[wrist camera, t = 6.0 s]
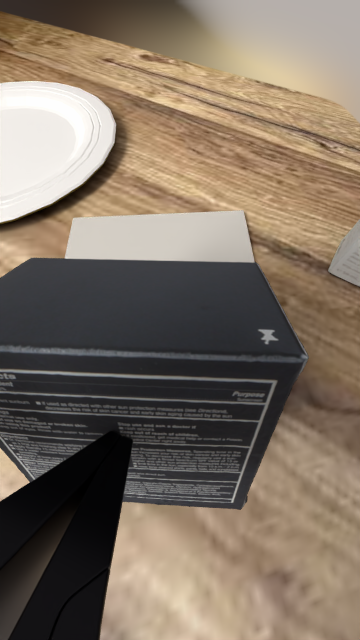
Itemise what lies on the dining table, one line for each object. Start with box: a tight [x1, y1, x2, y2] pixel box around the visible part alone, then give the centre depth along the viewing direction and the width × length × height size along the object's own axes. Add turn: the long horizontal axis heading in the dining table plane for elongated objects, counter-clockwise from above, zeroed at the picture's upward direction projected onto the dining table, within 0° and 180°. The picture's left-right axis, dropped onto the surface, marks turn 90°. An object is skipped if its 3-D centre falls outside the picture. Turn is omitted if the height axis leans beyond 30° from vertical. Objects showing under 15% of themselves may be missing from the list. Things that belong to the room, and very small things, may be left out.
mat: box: [65, 210, 254, 263], centre depth 21 cm, size 16×17×1 cm
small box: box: [0, 258, 309, 510], centre depth 11 cm, size 11×6×10 cm, turn 87°
